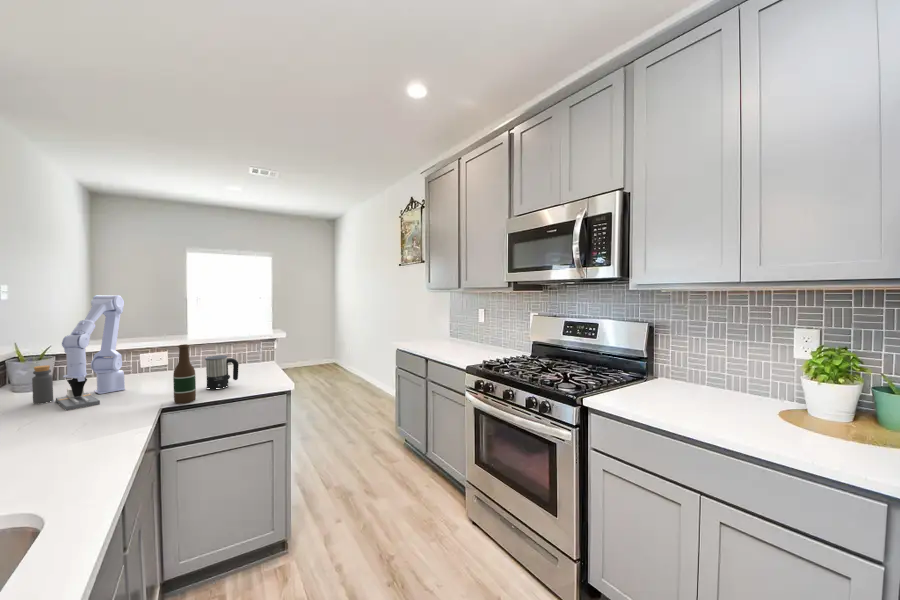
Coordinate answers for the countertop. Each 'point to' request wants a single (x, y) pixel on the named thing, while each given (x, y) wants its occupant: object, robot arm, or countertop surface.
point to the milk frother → (219, 371)
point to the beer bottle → (184, 378)
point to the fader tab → (70, 393)
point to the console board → (77, 401)
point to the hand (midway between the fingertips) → (77, 396)
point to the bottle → (42, 385)
